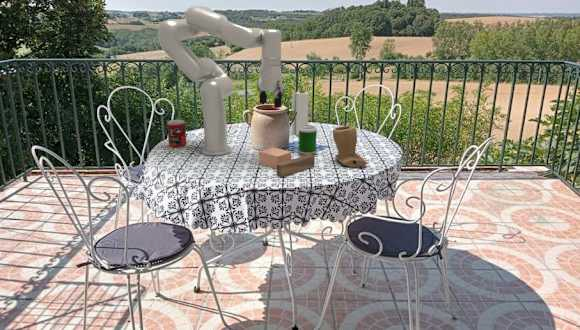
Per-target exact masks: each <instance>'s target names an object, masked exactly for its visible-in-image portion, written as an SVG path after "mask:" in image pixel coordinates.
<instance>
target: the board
mask: <svg viewBox="0 0 580 330" xmlns="http://www.w3.org/2000/svg"><path fill="white" fill-rule="evenodd" d="M315 156H316V155H315V154H314V155H310V154H308V155H301V156H299V157H296V158H291V160H289V161H286V162H282V163H279V164H277V169H276V176H277V177H280V178H285V177H288V176H290V175H293V174H296V173H299V172H302V171H304V170H307V169H311V168H314V167H315V158H316V157H315Z"/></svg>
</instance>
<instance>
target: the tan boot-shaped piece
mask: <svg viewBox="0 0 580 330" xmlns="http://www.w3.org/2000/svg"><path fill="white" fill-rule="evenodd" d="M332 136H333V141H334V144H335V145H336V149H337V152H338V153H337V154H336V155H335V158H336V160H337V161H338V162H339V163H341V164H342V165H344V166H347V167H350V168H359V167H363V166H366V165H367V164H368V161H366V160H365V158H363V157H362V156H360V155H359V154H357V153H356V150H357V149H356V147H357V142H358V133H357V128H356V126H354V125H342V126H337V127H335V128H333V129H332Z"/></svg>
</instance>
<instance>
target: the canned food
mask: <svg viewBox="0 0 580 330" xmlns="http://www.w3.org/2000/svg"><path fill="white" fill-rule="evenodd" d="M166 125H167V126H166V127H167V137H168V145H169V147H172V148H181V147H185V146H186V145H187V131H186V121H185V120H183V119H172V120H168V121H167V123H166Z"/></svg>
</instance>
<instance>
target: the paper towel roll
mask: <svg viewBox="0 0 580 330" xmlns="http://www.w3.org/2000/svg"><path fill="white" fill-rule="evenodd" d="M309 94H310V93H309V92H308V91H296V92H295V91H294V92H291V110H292V109H295V110H296V112H297V115H296V118H295V120H294V122H293V123H292V122H291V135H296V136H298V137H299V128H300V127H301V126H303V125H309V100H310V99H309V97H310V96H309Z"/></svg>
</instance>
